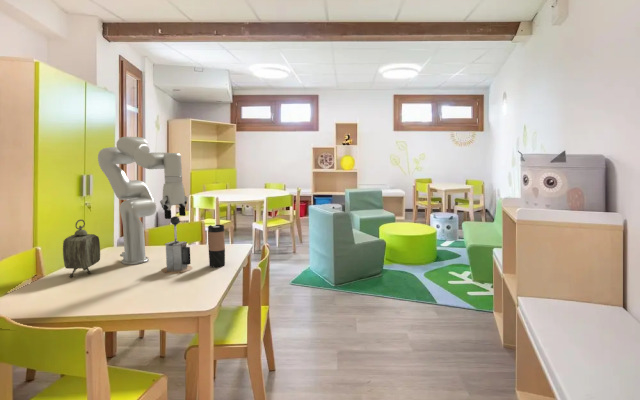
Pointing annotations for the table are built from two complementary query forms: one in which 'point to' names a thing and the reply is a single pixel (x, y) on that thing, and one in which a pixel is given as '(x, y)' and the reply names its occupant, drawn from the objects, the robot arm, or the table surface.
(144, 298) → the table surface
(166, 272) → the disc
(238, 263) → the table surface
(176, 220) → the plunger
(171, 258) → the grey slotted housing
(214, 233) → the travel mug
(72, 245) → the tabletop clock
